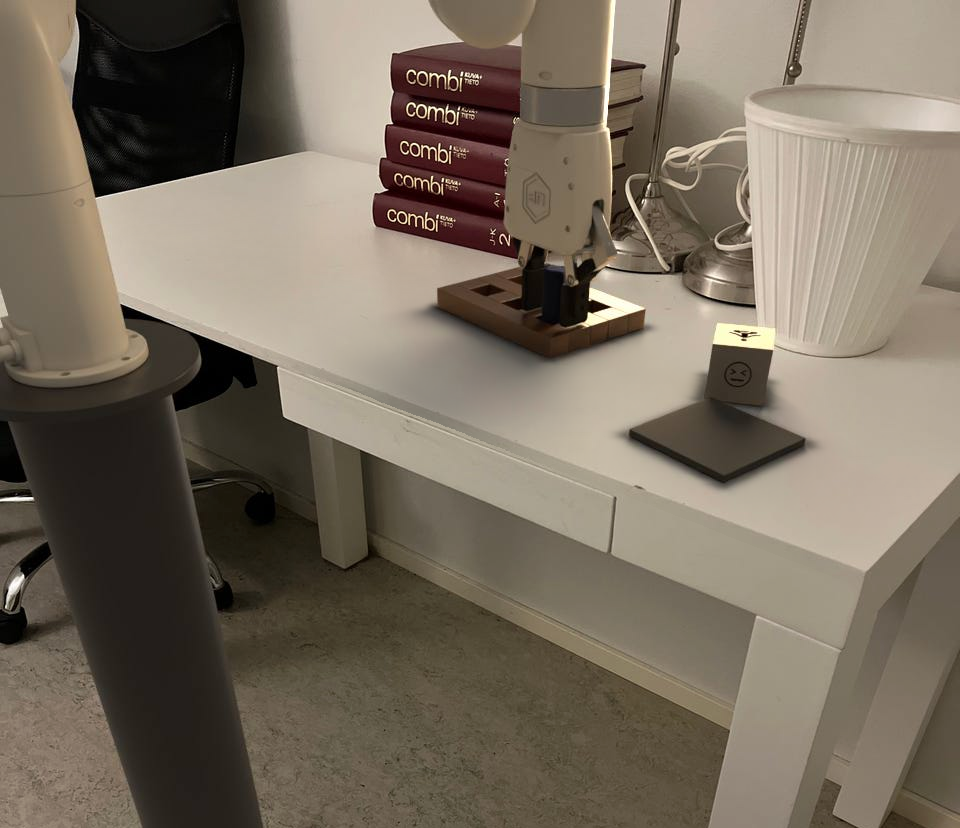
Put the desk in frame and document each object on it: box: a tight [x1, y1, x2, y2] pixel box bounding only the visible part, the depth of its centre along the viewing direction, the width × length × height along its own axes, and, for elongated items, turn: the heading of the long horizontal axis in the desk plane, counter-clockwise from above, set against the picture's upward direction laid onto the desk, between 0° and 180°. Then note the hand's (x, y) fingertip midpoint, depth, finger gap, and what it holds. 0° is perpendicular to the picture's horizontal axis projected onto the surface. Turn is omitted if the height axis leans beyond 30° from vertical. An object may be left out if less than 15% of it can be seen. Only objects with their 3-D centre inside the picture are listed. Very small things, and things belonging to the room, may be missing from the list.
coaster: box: [628, 397, 807, 483], centre depth 78 cm, size 10×10×1 cm
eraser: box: [541, 264, 567, 325], centre depth 94 cm, size 2×2×7 cm
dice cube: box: [703, 322, 777, 407], centre depth 84 cm, size 5×5×5 cm
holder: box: [436, 266, 646, 359], centre depth 100 cm, size 13×18×2 cm
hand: (554, 313), depth 94 cm, fingers open, 4 cm apart
